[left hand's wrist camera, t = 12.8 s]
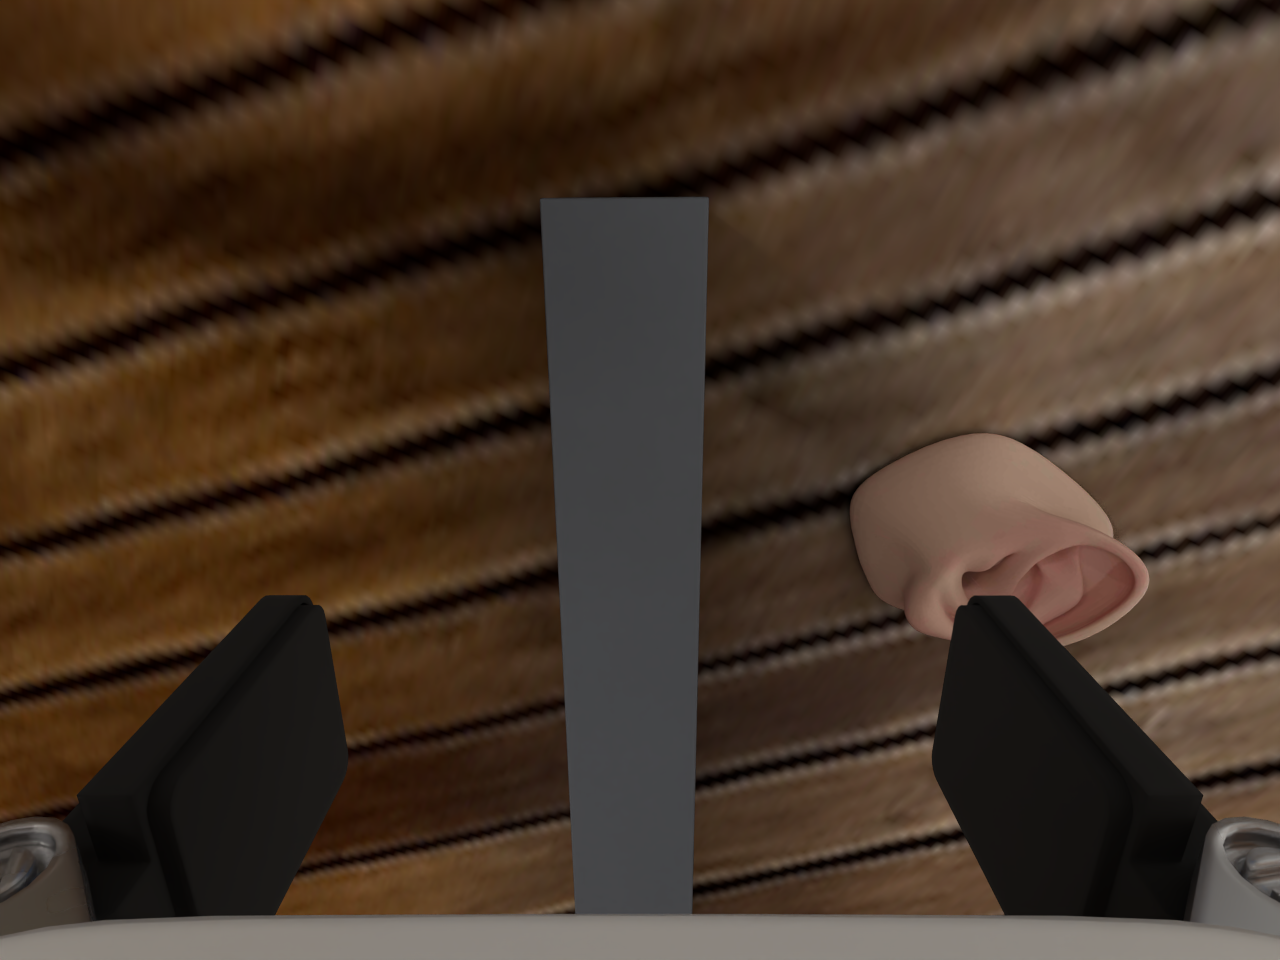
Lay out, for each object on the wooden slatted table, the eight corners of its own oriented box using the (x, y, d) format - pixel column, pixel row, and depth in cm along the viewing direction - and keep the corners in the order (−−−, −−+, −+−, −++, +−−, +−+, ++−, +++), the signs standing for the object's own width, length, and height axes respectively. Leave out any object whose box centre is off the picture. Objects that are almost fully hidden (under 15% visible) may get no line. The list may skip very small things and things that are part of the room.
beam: (563, 197, 34) (539, 198, 26) (692, 196, 34) (709, 196, 26) (604, 1227, 62) (598, 1386, 54) (675, 1227, 62) (681, 1385, 54)
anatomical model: (826, 559, 36) (1030, 394, 33) (809, 525, 40) (991, 374, 37) (988, 724, 39) (1186, 587, 37) (958, 678, 43) (1136, 551, 40)
